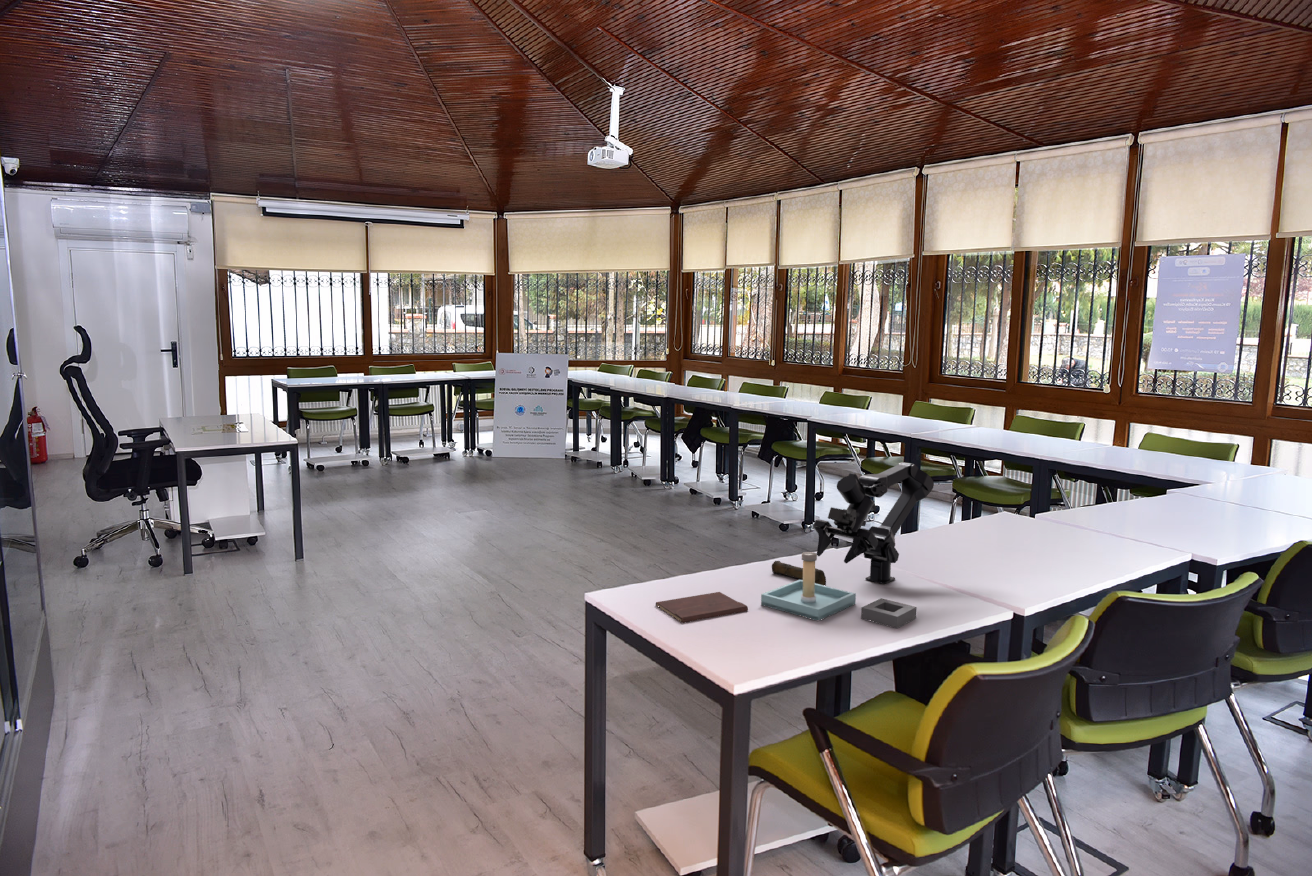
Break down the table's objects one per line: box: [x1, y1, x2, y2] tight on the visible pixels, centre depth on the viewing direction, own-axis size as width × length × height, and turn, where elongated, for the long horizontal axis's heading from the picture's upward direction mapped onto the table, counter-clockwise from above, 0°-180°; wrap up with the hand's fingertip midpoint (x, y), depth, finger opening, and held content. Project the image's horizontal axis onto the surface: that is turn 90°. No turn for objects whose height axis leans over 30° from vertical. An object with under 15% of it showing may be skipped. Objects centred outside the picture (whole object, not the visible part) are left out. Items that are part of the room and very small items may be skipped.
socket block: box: [860, 597, 918, 629], centre depth 212 cm, size 10×10×3 cm
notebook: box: [655, 591, 749, 624], centre depth 221 cm, size 15×20×2 cm
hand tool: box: [771, 560, 827, 586], centre depth 245 cm, size 19×4×5 cm, turn 39°
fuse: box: [801, 551, 818, 603], centre depth 222 cm, size 4×4×13 cm
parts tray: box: [760, 579, 857, 621], centre depth 223 cm, size 18×18×3 cm
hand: (831, 559), depth 228 cm, fingers open, 9 cm apart
